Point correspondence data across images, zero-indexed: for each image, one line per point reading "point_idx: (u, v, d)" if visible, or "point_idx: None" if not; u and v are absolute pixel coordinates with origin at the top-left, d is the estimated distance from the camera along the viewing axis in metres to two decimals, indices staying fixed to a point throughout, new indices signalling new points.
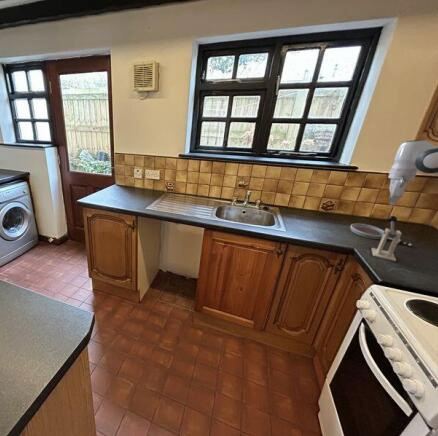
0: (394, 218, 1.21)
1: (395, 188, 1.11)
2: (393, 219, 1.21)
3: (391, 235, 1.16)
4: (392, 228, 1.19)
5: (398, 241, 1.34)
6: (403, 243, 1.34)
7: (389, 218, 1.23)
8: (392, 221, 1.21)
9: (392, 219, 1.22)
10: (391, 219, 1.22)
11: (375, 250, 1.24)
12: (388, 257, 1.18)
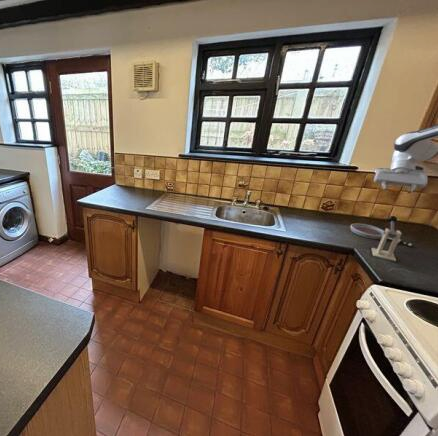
0: (394, 218, 1.21)
1: None
2: (393, 219, 1.21)
3: (391, 235, 1.16)
4: (392, 228, 1.19)
5: (398, 241, 1.34)
6: (403, 243, 1.34)
7: (389, 218, 1.23)
8: (392, 221, 1.21)
9: (392, 219, 1.22)
10: (391, 219, 1.22)
11: (375, 250, 1.24)
12: (388, 257, 1.18)
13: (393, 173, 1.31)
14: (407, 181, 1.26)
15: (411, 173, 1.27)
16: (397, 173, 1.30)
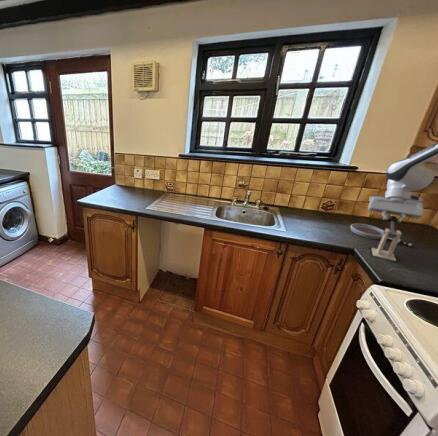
0: (394, 218, 1.21)
1: (369, 204, 1.31)
2: (393, 219, 1.21)
3: (391, 235, 1.16)
4: (392, 228, 1.19)
5: (398, 241, 1.34)
6: (403, 243, 1.34)
7: (389, 218, 1.23)
8: (392, 221, 1.21)
9: (392, 219, 1.22)
10: (391, 219, 1.22)
11: (375, 250, 1.24)
12: (388, 257, 1.18)
13: (388, 202, 1.26)
14: (402, 211, 1.21)
15: (406, 202, 1.22)
16: (392, 202, 1.25)
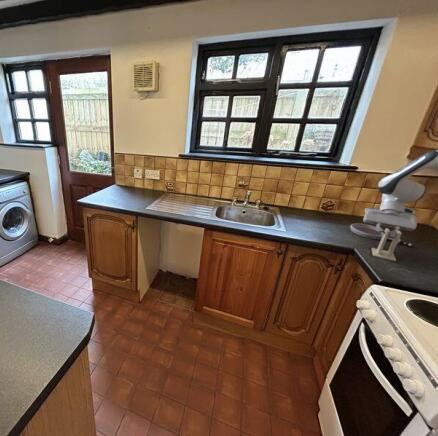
0: (389, 228, 1.25)
1: None
2: None
3: (392, 233, 1.16)
4: None
5: (398, 241, 1.34)
6: (403, 243, 1.34)
7: (384, 229, 1.26)
8: None
9: None
10: None
11: (375, 250, 1.24)
12: (388, 257, 1.18)
13: (382, 214, 1.29)
14: (396, 224, 1.24)
15: (400, 215, 1.25)
16: (386, 214, 1.28)
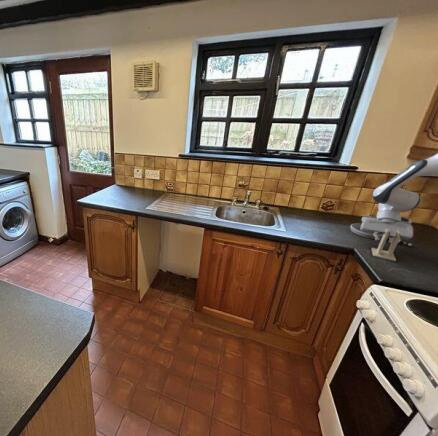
0: None
1: (361, 224, 1.35)
2: None
3: (392, 232, 1.16)
4: None
5: (398, 241, 1.34)
6: (403, 243, 1.34)
7: None
8: None
9: None
10: None
11: (375, 250, 1.24)
12: (388, 257, 1.18)
13: (379, 223, 1.30)
14: None
15: (397, 224, 1.26)
16: (383, 223, 1.29)
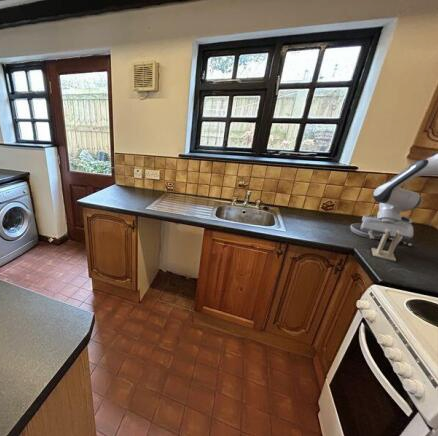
0: None
1: None
2: None
3: (392, 232, 1.16)
4: None
5: None
6: (403, 243, 1.34)
7: (382, 235, 1.27)
8: None
9: None
10: None
11: (375, 250, 1.24)
12: (388, 257, 1.18)
13: (379, 222, 1.30)
14: None
15: (397, 224, 1.26)
16: (383, 222, 1.29)
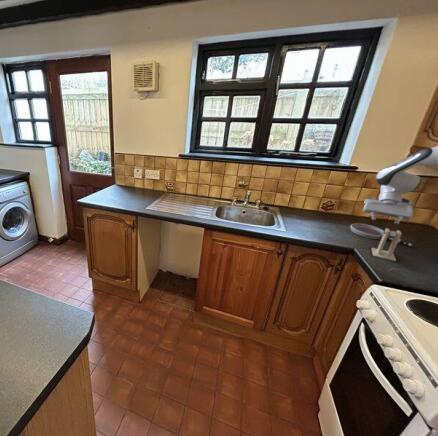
0: None
1: (364, 206, 1.43)
2: None
3: (392, 232, 1.16)
4: None
5: (398, 241, 1.34)
6: (403, 243, 1.34)
7: (382, 235, 1.27)
8: None
9: None
10: None
11: (375, 250, 1.24)
12: (388, 257, 1.18)
13: (381, 204, 1.37)
14: (394, 213, 1.33)
15: (398, 205, 1.33)
16: (385, 204, 1.36)
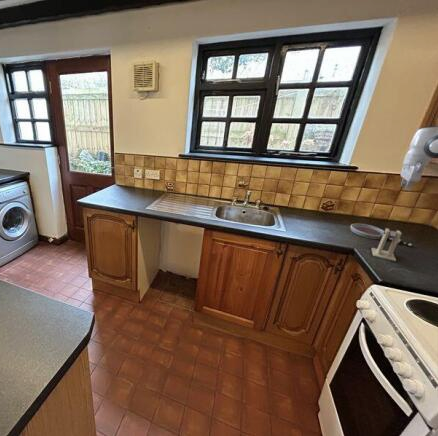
0: None
1: (412, 174, 1.15)
2: None
3: (392, 232, 1.16)
4: None
5: (398, 241, 1.34)
6: (403, 243, 1.34)
7: (382, 235, 1.27)
8: None
9: None
10: None
11: (375, 250, 1.24)
12: (388, 257, 1.18)
13: None
14: None
15: None
16: None
